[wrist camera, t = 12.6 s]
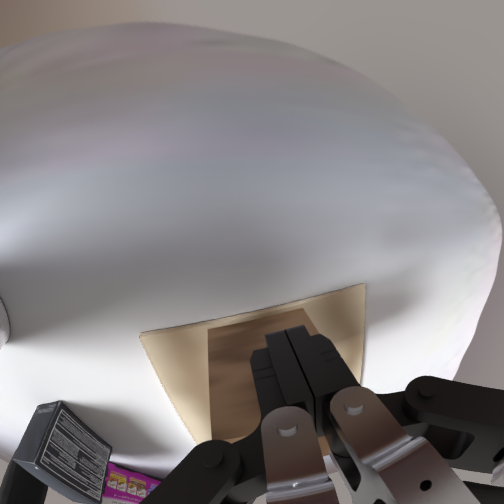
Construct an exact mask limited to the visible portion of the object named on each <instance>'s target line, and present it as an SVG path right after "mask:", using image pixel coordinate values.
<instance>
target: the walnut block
mask: <svg viewBox="0 0 504 504" xmlns="http://www.w3.org/2000/svg"><path fill="white" fill-rule="evenodd" d="M299 325H304V326H305V327H306V329H307V331H308V332H309V334H310V336H313V335H316V334H320V333H319V332H318V330H317V329H316V327H315V326H314V324H313V323H312V321H311V320H310V318H309V317H308V315H307V314H306V312H305V311H304V309H303V308H300V309H296V310H293V311H289V312H284V313H280V314H276V315H272V316H268V317H263V318H259V319H255V320H250V321H246V322H241V323H236V324H232V325H227V326H222V327H217V328H212V329H208V375H209V401H210V420H211V437H212V440H224V441H227V442H229V443H231V444H232V443H234V442H236V441H238V440H241V439H243V438H245V437H247V436H248V435H250V434H251V433H252V432H253V431H254V430H255V429H256V428H257V427H258V425H259V423H260V420H261V412H260V407H259V403H258V398H257V393H256V389H255V384H254V379H253V375H252V370H251V365H250V358H251V356H252V353H253V350H258V349H262V348H266V342H265V337H264V334H267V333H272V332H276V331H280V330H285V329H288V328H292V327H296V326H299ZM318 441H319V445H320V448H321V452H322V456H326V455H329V453H328V442H327V440H326V438H325V436H322V437H319V438H318Z"/></svg>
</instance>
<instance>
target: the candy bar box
mask: <svg viewBox="0 0 504 504" xmlns="http://www.w3.org/2000/svg"><path fill="white" fill-rule="evenodd" d="M162 481H163V480H162V479H158V478H155V477H151V476H148V475H145V474H141V473H138V472H135V471H132V470H129V469H126V468H123V467H121V466H118V465H115V464H113V463H110V462H109V464H108V469H107V474H106V479H105V484H104V490H103V496H102V504H139V503H140V502H141V501H142V500H143V499H144V498H145V497H146V496H147V495H148V494H149V493H150V492H151V491H153V490H154V489H155V488H156V487H157V486H158V485H159V484H160V483H161V482H162Z"/></svg>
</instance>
